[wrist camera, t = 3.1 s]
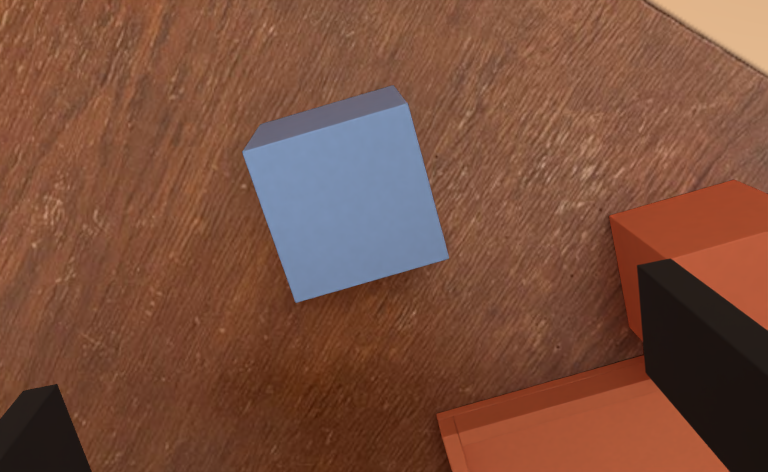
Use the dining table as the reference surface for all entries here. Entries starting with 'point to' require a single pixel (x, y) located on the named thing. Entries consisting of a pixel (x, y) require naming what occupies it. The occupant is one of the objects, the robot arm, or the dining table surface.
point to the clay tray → (577, 428)
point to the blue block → (345, 193)
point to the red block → (700, 245)
